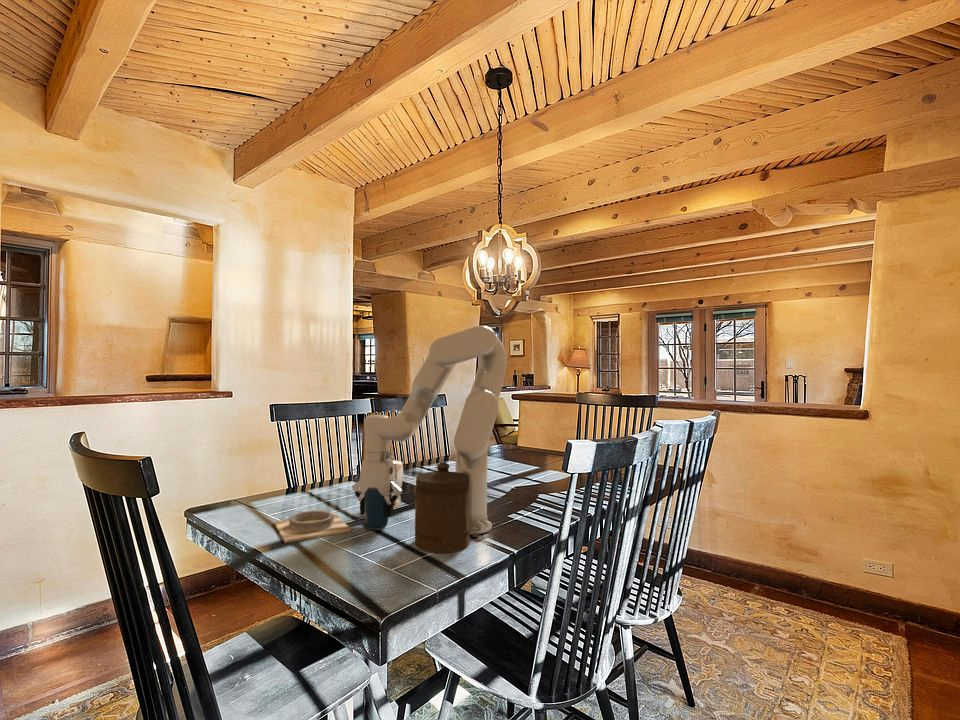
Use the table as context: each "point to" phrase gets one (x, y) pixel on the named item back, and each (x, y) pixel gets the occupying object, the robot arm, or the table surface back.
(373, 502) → the soda can
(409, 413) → the robot arm
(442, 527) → the wooden container
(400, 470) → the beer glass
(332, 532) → the collar plate
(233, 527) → the table surface
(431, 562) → the table surface
